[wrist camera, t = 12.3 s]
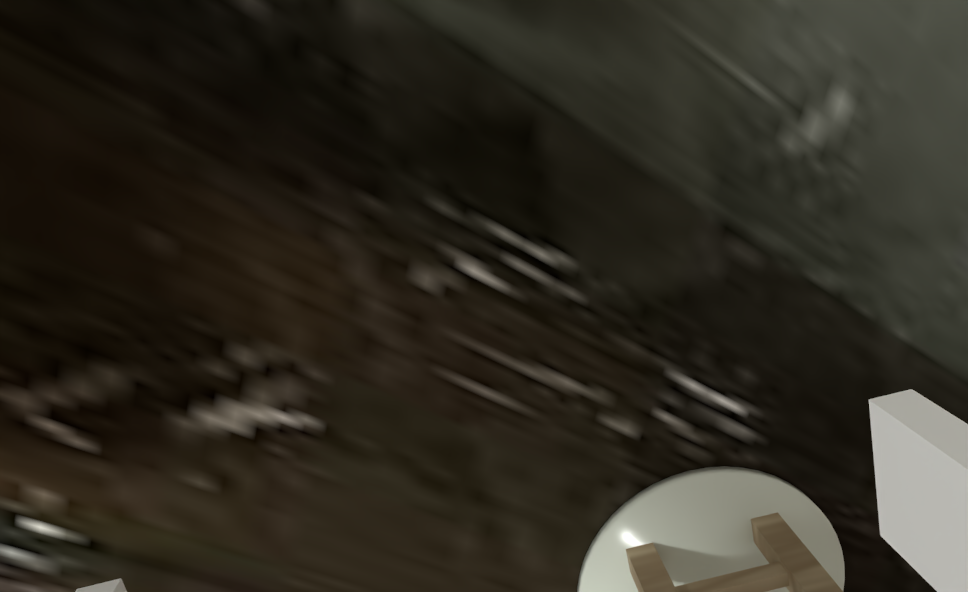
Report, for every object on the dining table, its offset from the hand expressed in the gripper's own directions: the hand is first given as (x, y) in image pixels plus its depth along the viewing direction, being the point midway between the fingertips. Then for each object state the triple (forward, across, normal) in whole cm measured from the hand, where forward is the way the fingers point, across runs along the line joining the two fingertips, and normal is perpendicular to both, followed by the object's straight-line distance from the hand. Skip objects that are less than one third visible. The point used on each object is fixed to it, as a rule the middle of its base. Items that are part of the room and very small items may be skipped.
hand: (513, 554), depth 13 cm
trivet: (+27, +10, -24) cm, 37 cm away
